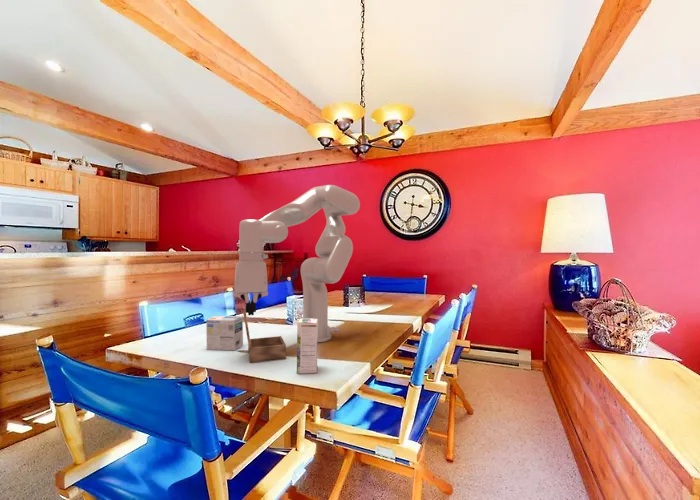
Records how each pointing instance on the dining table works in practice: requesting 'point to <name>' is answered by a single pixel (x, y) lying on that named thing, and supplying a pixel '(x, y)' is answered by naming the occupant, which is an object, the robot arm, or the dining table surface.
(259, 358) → the box
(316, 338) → the syrup box
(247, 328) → the lid
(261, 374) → the dining table surface
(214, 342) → the light bulb box
